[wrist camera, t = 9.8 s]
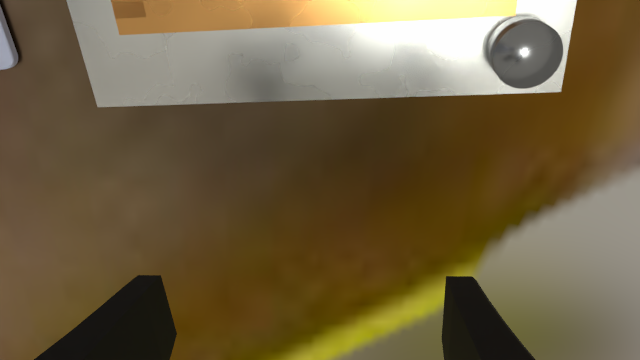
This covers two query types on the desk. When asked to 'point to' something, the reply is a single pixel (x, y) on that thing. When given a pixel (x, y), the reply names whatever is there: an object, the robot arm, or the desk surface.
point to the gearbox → (318, 49)
